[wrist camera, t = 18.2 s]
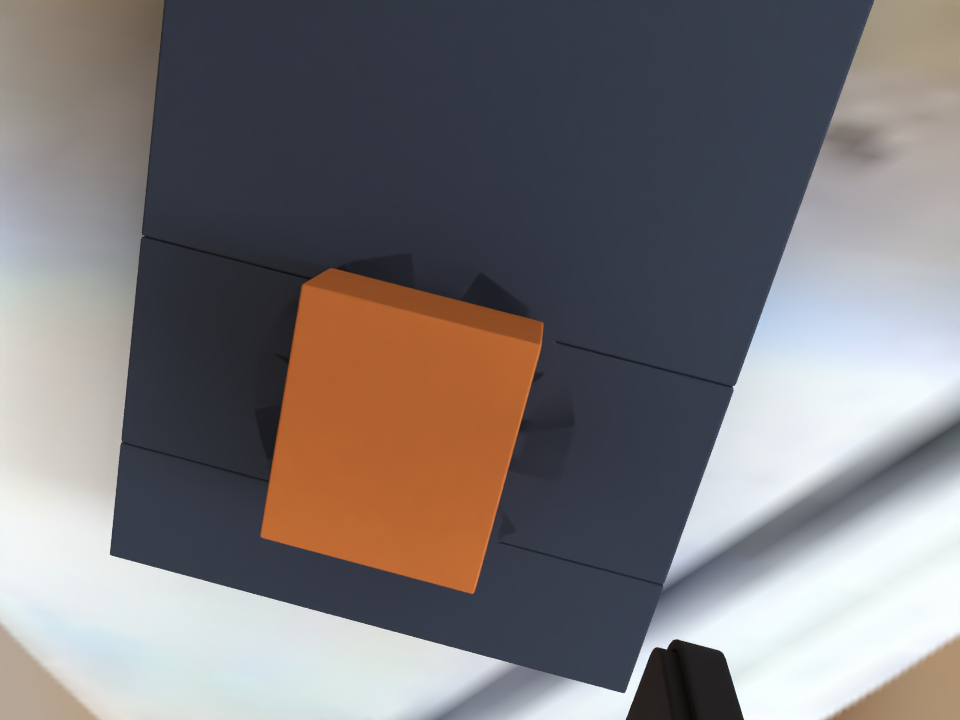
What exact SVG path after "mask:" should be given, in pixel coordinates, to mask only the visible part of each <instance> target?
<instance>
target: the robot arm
mask: <svg viewBox="0 0 960 720" xmlns="http://www.w3.org/2000/svg"><path fill="white" fill-rule="evenodd" d="M626 720H744V718H743V715H742V712H741V708H740V705H739V702H738V698H737V695H736V692H735V688H734V685H733V682H732V678H731V675H730V672H729V668H728V665H727V662H726V659H725V657H724V654H723V653H722V652H721V651H719V650H715V649H711V648H707V647H704V646H700V645H696V644H692V643H688V642H685V641H681V640H677V639H676V640H673V641H672V642H671V643H670V645H669V646H668V649H667V650H666V649H662V648H658V647H656V648H654V650H653V651H652V653H651V655H650V657H649V660H648V662H647V665H646V668H645V670H644V673H643V676H642V678H641V681H640V684H639V686H638V689H637V692H636V694H635V697H634V700H633V702H632V705H631V708H630V710H629V713H628V716H627V718H626Z"/></svg>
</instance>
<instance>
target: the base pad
mask: <svg viewBox="0 0 960 720" xmlns="http://www.w3.org/2000/svg"><path fill="white" fill-rule="evenodd" d="M873 2H874V0H165V2H164V12H163V22H162V32H161V43H160V53H159V63H158V73H157V84H156V94H155V104H154V114H153V124H152V135H151V145H150V155H149V165H148V176H147V186H146V196H145V206H144V217H143V227H142V235H144V237H142V239H141V245H140V255H139V266H138V276H137V286H136V296H135V307H134V317H133V327H132V337H131V348H130V358H129V368H128V378H127V389H126V399H125V409H124V419H123V430H122V443H121V446H120V457H119V467H118V477H117V487H116V498H115V508H114V518H113V528H112V539H111V549H110V555H112V556H116V557H119V558H123V559H127V560H130V561H134V562H138V563H142V564H145V565H149V566H153V567H156V568H160V569H164V570H168V571H171V572H175V573H179V574H182V575H186V576H190V577H194V578H197V579H201V580H205V581H208V582H212V583H216V584H220V585H223V586H227V587H231V588H234V589H238V590H242V591H246V592H249V593H253V594H257V595H260V596H264V597H268V598H272V599H275V600H279V601H283V602H287V603H290V604H294V605H298V606H301V607H305V608H309V609H313V610H316V611H320V612H324V613H327V614H331V615H335V616H339V617H342V618H346V619H350V620H353V621H357V622H361V623H365V624H368V625H372V626H376V627H379V628H383V629H387V630H391V631H394V632H398V633H402V634H405V635H409V636H413V637H417V638H420V639H424V640H428V641H431V642H435V643H439V644H443V645H446V646H450V647H454V648H457V649H461V650H465V651H469V652H472V653H476V654H480V655H483V656H487V657H491V658H495V659H498V660H502V661H506V662H509V663H513V664H517V665H521V666H524V667H528V668H532V669H535V670H539V671H543V672H547V673H550V674H554V675H558V676H562V677H565V678H569V679H573V680H576V681H580V682H584V683H588V684H591V685H595V686H599V687H602V688H606V689H610V690H614V691H617V692H621V693H625V691H626V689H627V686H628V683H629V681H630V678H631V675H632V672H633V669H634V667H635V664H636V661H637V658H638V656H639V653H640V650H641V647H642V644H643V642H644V639H645V636H646V633H647V631H648V628H649V625H650V622H651V619H652V617H653V614H654V611H655V608H656V606H657V603H658V600H659V597H660V595H661V592H662V589H663V583H664V582H665V580H666V577H667V574H668V571H669V569H670V566H671V563H672V560H673V557H674V555H675V552H676V549H677V546H678V544H679V541H680V538H681V535H682V532H683V530H684V527H685V524H686V521H687V519H688V516H689V513H690V510H691V507H692V505H693V502H694V499H695V496H696V494H697V491H698V488H699V485H700V482H701V480H702V477H703V474H704V471H705V469H706V466H707V463H708V460H709V457H710V455H711V452H712V449H713V446H714V444H715V441H716V438H717V435H718V433H719V430H720V427H721V424H722V421H723V419H724V416H725V413H726V410H727V408H728V405H729V402H730V399H731V396H732V394H733V387H732V386H734V385H735V384H736V382H737V380H738V377H739V374H740V371H741V369H742V366H743V363H744V360H745V357H746V355H747V352H748V349H749V346H750V344H751V341H752V338H753V335H754V332H755V330H756V327H757V324H758V321H759V319H760V316H761V313H762V310H763V307H764V305H765V302H766V299H767V296H768V294H769V291H770V288H771V285H772V282H773V280H774V277H775V274H776V271H777V269H778V266H779V263H780V260H781V257H782V255H783V252H784V249H785V246H786V244H787V241H788V238H789V235H790V232H791V230H792V227H793V224H794V221H795V219H796V216H797V213H798V210H799V207H800V205H801V202H802V199H803V196H804V194H805V191H806V188H807V185H808V182H809V180H810V177H811V174H812V171H813V169H814V166H815V163H816V160H817V158H818V155H819V152H820V149H821V146H822V144H823V141H824V138H825V135H826V133H827V130H828V127H829V124H830V121H831V119H832V116H833V113H834V110H835V108H836V105H837V102H838V99H839V96H840V94H841V91H842V88H843V85H844V83H845V80H846V77H847V74H848V71H849V69H850V66H851V63H852V60H853V58H854V55H855V52H856V49H857V46H858V44H859V41H860V38H861V35H862V33H863V30H864V27H865V24H866V21H867V19H868V16H869V13H870V10H871V8H872V5H873ZM329 268H334V269H338V270H342V271H346V272H350V273H353V274H357V275H361V276H365V277H369V278H373V279H377V280H381V281H385V282H389V283H393V284H397V285H400V286H404V287H408V288H412V289H416V290H420V291H424V292H428V293H432V294H436V295H440V296H443V297H447V298H451V299H455V300H459V301H463V302H467V303H471V304H475V305H479V306H483V307H487V308H490V309H494V310H498V311H502V312H506V313H510V314H514V315H518V316H522V317H526V318H530V319H533V320H537V321H541V322H543V335H542V345H541V350H540V354H539V358H538V361H537V365H536V369H535V372H534V376H533V380H532V383H531V387H530V391H529V394H528V398H527V402H526V405H525V409H524V413H523V416H522V420H521V424H520V427H519V431H518V435H517V438H516V442H515V446H514V449H513V453H512V457H511V460H510V464H509V468H508V471H507V475H506V479H505V482H504V486H503V490H502V493H501V497H500V501H499V504H498V508H497V512H496V515H495V519H494V523H493V526H492V530H491V534H490V537H489V541H488V545H487V549H486V552H485V556H484V560H483V563H482V567H481V571H480V574H479V578H478V582H477V585H476V589H475V592H474V593H473V594H470V593H467V592H463V591H459V590H455V589H452V588H448V587H444V586H440V585H437V584H433V583H429V582H426V581H422V580H418V579H414V578H411V577H407V576H403V575H399V574H396V573H392V572H388V571H384V570H381V569H377V568H373V567H369V566H366V565H362V564H358V563H354V562H351V561H347V560H343V559H339V558H336V557H332V556H328V555H324V554H321V553H317V552H313V551H309V550H306V549H302V548H298V547H294V546H291V545H287V544H283V543H280V542H276V541H272V540H268V539H265V538H262V537H261V536H260V534H261V528H262V521H263V515H264V509H265V503H266V497H267V491H268V485H269V479H270V473H271V467H272V461H273V455H274V449H275V443H276V437H277V431H278V425H279V419H280V413H281V407H282V401H283V395H284V389H285V383H286V377H287V371H288V365H289V359H290V353H291V347H292V341H293V335H294V329H295V323H296V317H297V311H298V305H299V299H300V293H301V287H302V285H303V284H304V283H306V282H307V281H309V280H311V279H312V278H314V277H316V276H317V275H319V274H321V273H323V272H324V271H326V270H328V269H329Z"/></svg>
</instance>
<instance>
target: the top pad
mask: <svg viewBox="0 0 960 720" xmlns="http://www.w3.org/2000/svg"><path fill="white" fill-rule="evenodd" d="M542 335H543V322H541V321H537V320H533V319H530V318H526V317H522V316H518V315H514V314H510V313H506V312H502V311H498V310H494V309H490V308H487V307H483V306H479V305H475V304H471V303H467V302H463V301H459V300H455V299H451V298H447V297H443V296H440V295H436V294H432V293H428V292H424V291H420V290H416V289H412V288H408V287H404V286H400V285H397V284H393V283H389V282H385V281H381V280H377V279H373V278H369V277H365V276H361V275H357V274H353V273H350V272H346V271H342V270H338V269H334V268H329V269H328V270H326V271H324V272H323V273H321V274H319V275H317V276H316V277H314V278H312V279H311V280H309V281H307V282H306V283H304V284H303V285H302V287H301V293H300V299H299V305H298V311H297V317H296V323H295V329H294V335H293V341H292V347H291V353H290V359H289V365H288V371H287V377H286V383H285V389H284V395H283V401H282V407H281V413H280V419H279V425H278V431H277V437H276V443H275V449H274V455H273V461H272V467H271V473H270V479H269V485H268V491H267V497H266V503H265V509H264V515H263V521H262V528H261V534H260V536H261V537H262V538H265V539H268V540H272V541H276V542H280V543H283V544H287V545H291V546H294V547H298V548H302V549H306V550H309V551H313V552H317V553H321V554H324V555H328V556H332V557H336V558H339V559H343V560H347V561H351V562H354V563H358V564H362V565H366V566H369V567H373V568H377V569H381V570H384V571H388V572H392V573H396V574H399V575H403V576H407V577H411V578H414V579H418V580H422V581H426V582H429V583H433V584H437V585H440V586H444V587H448V588H452V589H455V590H459V591H463V592H467V593H470V594H473V593H474V592H475V589H476V585H477V582H478V578H479V574H480V571H481V567H482V563H483V560H484V556H485V552H486V549H487V545H488V541H489V537H490V534H491V530H492V526H493V523H494V519H495V515H496V512H497V508H498V504H499V501H500V497H501V493H502V490H503V486H504V482H505V479H506V475H507V471H508V468H509V464H510V460H511V457H512V453H513V449H514V446H515V442H516V438H517V435H518V431H519V427H520V424H521V420H522V416H523V413H524V409H525V405H526V402H527V398H528V394H529V391H530V387H531V383H532V380H533V376H534V372H535V369H536V365H537V361H538V358H539V354H540V350H541V345H542Z"/></svg>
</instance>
